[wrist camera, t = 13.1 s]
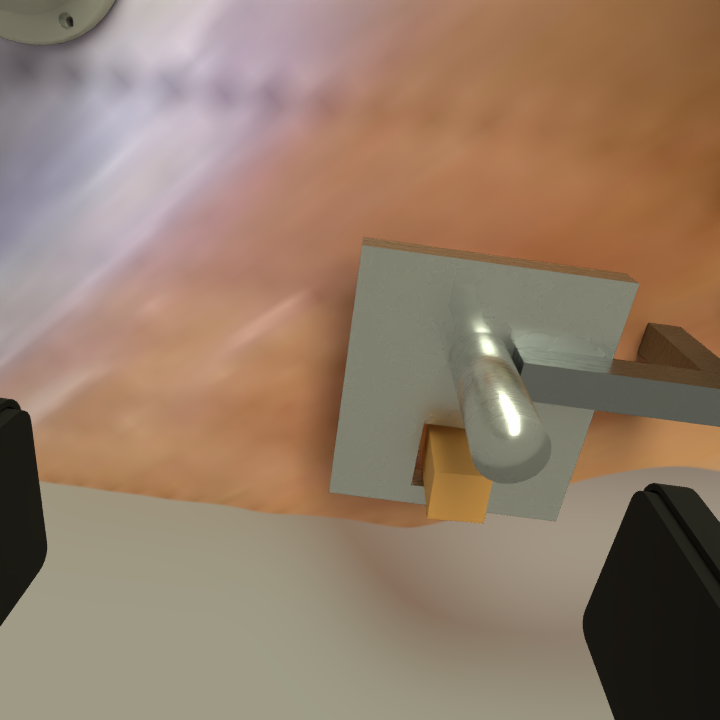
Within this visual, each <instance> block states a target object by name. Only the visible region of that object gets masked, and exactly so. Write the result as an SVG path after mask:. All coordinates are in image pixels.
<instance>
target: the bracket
mask: <svg viewBox="0 0 720 720" xmlns="http://www.w3.org/2000/svg"><path fill="white" fill-rule="evenodd" d="M638 353H639V354H640V355H641V356H642V357H643V358H644V359H645V360H646V361H647V362H648V363H649V364H647V363H640V362H632V361H625V360H618V359H610V358H603V357H596V356H588V355H581V354H573V353H566V352H559V351H551V350H544V349H536V348H529V347H522V346H515V350H514V353H513V357H512V360H513V362H514V364H515V366H516V368H517V371H518V373H519V375H520V377H521V379H522V381H523V383H524V385H525V387H526V389H527V392H528V394H529V396H530V398H531V400H532V402H537V403H545V404H552V405H560V406H567V407H575V408H583V409H590V410H598V411H605V412H613V413H620V414H628V415H635V416H643V417H650V418H658V419H665V420H673V421H680V422H688V423H695V424H703V425H710V426H718V427H720V358H718V357H717V356H716V355H715V354H713V353H712V352H711V351H710V350H708V349H707V348H706V347H705V346H703V345H702V344H701V343H700V342H698V341H697V340H696V339H695V338H693V337H692V336H691V335H690V334H689V333H687V332H686V331H685V330H684V329H682V328H681V327H676V326H668V325H661V324H654V323H649V324H648V326H647V329H646V332H645V334H644V337H643V340H642V342H641V345H640V348H639V351H638Z"/></svg>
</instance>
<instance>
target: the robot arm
mask: <svg viewBox="0 0 720 720" xmlns="http://www.w3.org/2000/svg"><path fill="white" fill-rule="evenodd" d="M114 1H115V0H0V37H2V38H4V39H8V40H12V41H16V42H20V43H26V44H35V45H48V44H60V43H63V42H66V41H69V40H72V39H76V38H78V37H79V36H81V35H83V34H84V33H86V32H88V31H89V30H91V29H92V28H93V27H94V26H95V25H96V24H97V23H98V22H99V21H100V20H101V19H102V18H103V17H104V16H105V15H106V14H107V12H108V11H109V9H110V8H111V6H112V4H113V3H114ZM71 18H73V21H74V23H73V27H72V26H71V25H70V19H71ZM46 554H47V540H46V532H45V524H44V517H43V509H42V501H41V493H40V486H39V478H38V470H37V463H36V455H35V447H34V440H33V432H32V424H31V419H30V415H29V414H28V412H26V411H23V410H21V408H20V406H19V404H18V403H17V402H16V401H15V400H13V399H6V398H0V626H1V625H2V623H3V622H4V620H5V619H6V617H7V616H8V615H9V613H10V612H11V610H12V609H13V608H14V606H15V605H16V603H17V602H18V601H19V599H20V598H21V596H22V595H23V594H24V592H25V591H26V589H27V588H28V587H29V585H30V584H31V582H32V581H33V579H34V578H35V577H36V575H37V574H38V572H39V571H40V569H41V568H42V566H43V563H44V561H45V558H46ZM583 632H584V636H585V640H586V643H587V645H588V648H589V651H590V653H591V656H592V659H593V662H594V664H595V667H596V670H597V672H598V675H599V678H600V681H601V683H602V686H603V689H604V692H605V694H606V697H607V700H608V702H609V705H610V708H611V711H612V713H613V716H614V719H615V720H720V522H719V521H718V520H717V518H716V517H715V516H714V515H713V513H712V512H711V511H710V509H709V508H708V507H707V506H706V504H705V503H704V502H703V500H702V499H701V498H700V497H699V495H698V494H697V493H696V492H695V491H694V490H693V489H690V488H687V487H680V486H672V485H665V484H657V483H652V484H649V485H648V486H647V487H646V488H645V489H644V491H638V492H636V493H635V494H634V495H633V497H632V498H631V501H630V503H629V506H628V508H627V510H626V513H625V516H624V518H623V520H622V523H621V525H620V528H619V530H618V532H617V535H616V537H615V539H614V542H613V544H612V547H611V549H610V552H609V554H608V556H607V559H606V561H605V564H604V566H603V568H602V571H601V573H600V576H599V578H598V581H597V583H596V585H595V588H594V590H593V593H592V595H591V597H590V600H589V602H588V605H587V607H586V609H585V612H584V616H583Z"/></svg>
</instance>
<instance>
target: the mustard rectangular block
mask: <svg viewBox="0 0 720 720" xmlns="http://www.w3.org/2000/svg"><path fill="white" fill-rule="evenodd" d="M420 453H421V463H422V472H423V482H424V492H425V502H426V512H427V519H439V520H450V521H462V522H473V523H484V519H485V514H486V510H487V505H488V500H489V496H490V491H491V487H492V482H493V481H491V480H489V479H487V478H485V477H484V476H483V475H481V474H480V473H479V472H478V470H477V469H476V468H475V466H474V464H473V461H472V457H471V452H470V448H469V444H468V440H467V436H466V432H465V428H458V427H450V426H442V425H435V424H427V423H424V425H423V430H422V435H421V439H420Z"/></svg>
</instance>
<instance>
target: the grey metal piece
mask: <svg viewBox="0 0 720 720" xmlns="http://www.w3.org/2000/svg"><path fill="white" fill-rule="evenodd" d="M638 286H639V283H638V282H637V281H635V280H634V279H633V278H631V277H630V276H629V275H627V274H626V273H619V272H612V271H605V270H598V269H590V268H583V267H576V266H569V265H562V264H554V263H547V262H540V261H533V260H526V259H518V258H511V257H504V256H497V255H490V254H482V253H475V252H468V251H461V250H454V249H446V248H439V247H432V246H425V245H418V244H410V243H403V242H396V241H389V240H382V239H374V238H367V237H363V242H362V250H361V257H360V265H359V272H358V280H357V287H356V295H355V302H354V309H353V317H352V324H351V332H350V339H349V347H348V354H347V362H346V369H345V376H344V384H343V391H342V399H341V406H340V414H339V421H338V428H337V436H336V443H335V451H334V458H333V466H332V473H331V481H330V488H329V492H330V493H338V494H346V495H354V496H361V497H369V498H377V499H385V500H393V501H400V502H408V503H416V504H424V505H426V502H425V492H424V482H423V472H422V469H416V468H415V463H416V459H417V454H418V449H419V444H420V439H421V435H422V430H423V425H424V423H427V424H435V425H442V426H450V427H458V428H465V432H466V436H467V440H468V444H469V448H470V452H471V457H472V461H473V464H474V466H475V468H476V469H477V470H478V472H479V473H480V474H481V475H483V476H484V477H485V478H487V479H489V480H491V481H493V482H492V487H491V491H490V496H489V500H488V505H487V510H486V513H494V514H502V515H509V516H518V517H525V518H533V519H542V520H548V521H556V519H557V516H558V514H559V511H560V508H561V505H562V502H563V499H564V496H565V494H566V491H567V488H568V485H569V482H570V479H571V477H572V474H573V471H574V468H575V465H576V462H577V460H578V457H579V454H580V451H581V448H582V445H583V442H584V440H585V437H586V434H587V431H588V428H589V425H590V423H591V420H592V417H593V414H594V411H595V410H590V409H583V408H575V407H567V406H560V405H552V404H545V403H537V402H532V400H531V398H530V396H529V394H528V392H527V389H526V387H525V385H524V383H523V381H522V379H521V377H520V375H519V373H518V371H517V368H516V366H515V364H514V362H513V360H512V357H513V353H514V350H515V346H522V347H529V348H536V349H544V350H551V351H559V352H566V353H573V354H581V355H588V356H596V357H603V358H610V359H613V357H614V354H615V352H616V349H617V346H618V343H619V340H620V337H621V334H622V332H623V329H624V326H625V323H626V320H627V317H628V315H629V312H630V309H631V306H632V303H633V300H634V298H635V295H636V292H637V289H638Z"/></svg>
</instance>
